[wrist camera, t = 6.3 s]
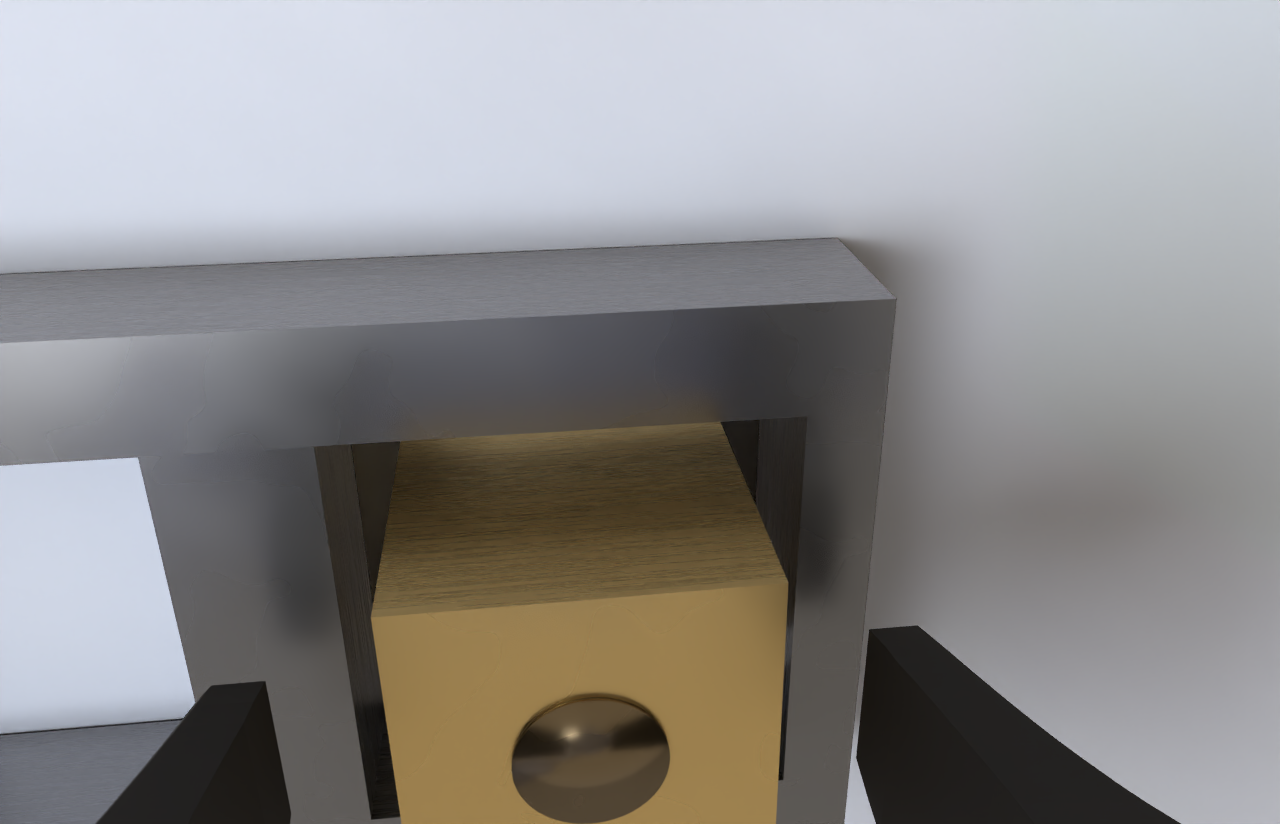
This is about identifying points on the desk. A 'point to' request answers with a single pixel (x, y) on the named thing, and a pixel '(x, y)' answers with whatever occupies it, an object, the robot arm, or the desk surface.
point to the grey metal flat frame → (421, 410)
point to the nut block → (580, 631)
